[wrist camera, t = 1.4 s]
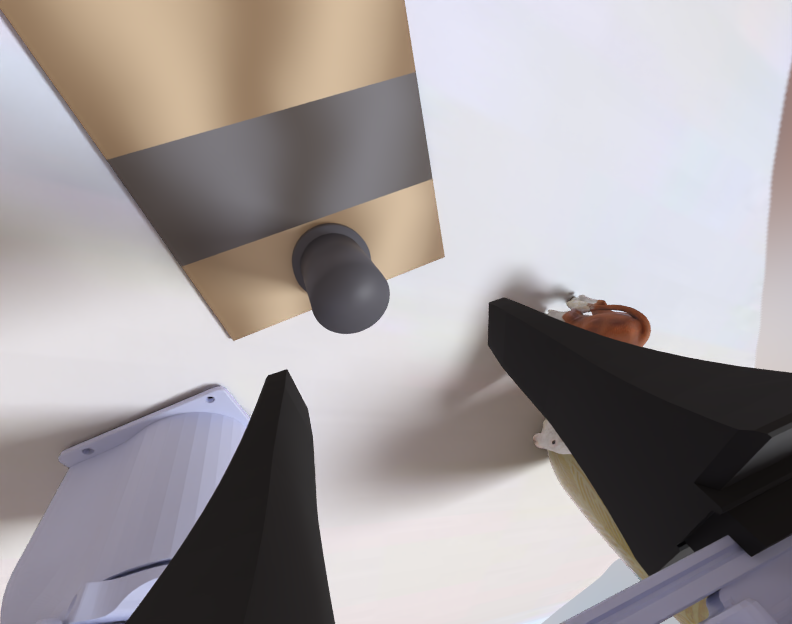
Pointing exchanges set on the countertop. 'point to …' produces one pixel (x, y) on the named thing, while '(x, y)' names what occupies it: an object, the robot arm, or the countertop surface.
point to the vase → (608, 523)
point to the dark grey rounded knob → (340, 278)
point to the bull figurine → (604, 323)
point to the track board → (250, 131)
